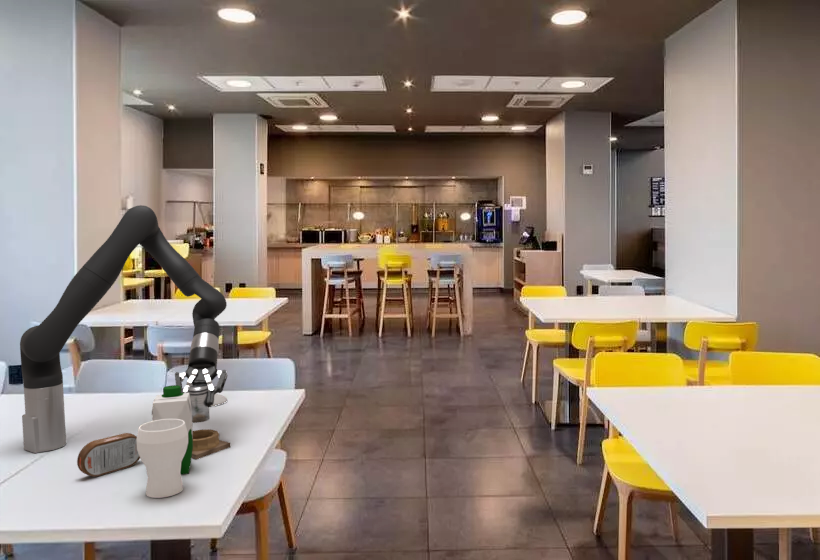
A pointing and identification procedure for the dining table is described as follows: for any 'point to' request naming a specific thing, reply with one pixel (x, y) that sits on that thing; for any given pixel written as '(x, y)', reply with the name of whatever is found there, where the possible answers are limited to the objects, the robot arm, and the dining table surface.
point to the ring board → (207, 452)
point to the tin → (108, 455)
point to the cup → (163, 455)
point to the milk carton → (176, 416)
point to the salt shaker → (199, 402)
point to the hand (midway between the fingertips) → (197, 406)
